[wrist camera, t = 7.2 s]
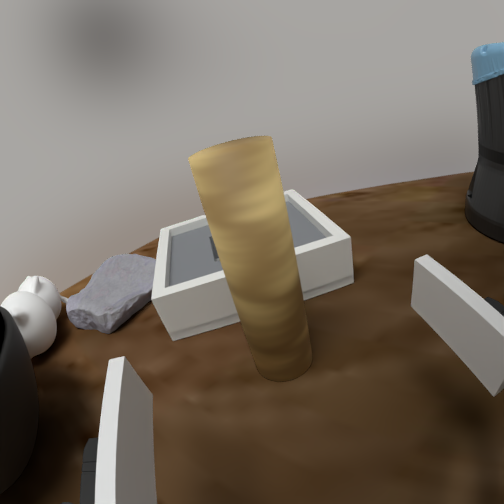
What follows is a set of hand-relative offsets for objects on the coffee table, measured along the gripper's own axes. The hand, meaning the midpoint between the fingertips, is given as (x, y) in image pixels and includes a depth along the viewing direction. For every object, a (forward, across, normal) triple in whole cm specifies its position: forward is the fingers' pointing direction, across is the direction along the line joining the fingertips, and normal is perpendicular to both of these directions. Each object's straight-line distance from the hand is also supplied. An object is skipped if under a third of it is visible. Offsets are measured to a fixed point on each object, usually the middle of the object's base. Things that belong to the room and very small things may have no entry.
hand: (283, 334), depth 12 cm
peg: (+7, 0, -9) cm, 12 cm away
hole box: (+21, +1, -9) cm, 23 cm away
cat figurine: (+20, -26, -10) cm, 34 cm away
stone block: (+23, -15, -10) cm, 29 cm away
